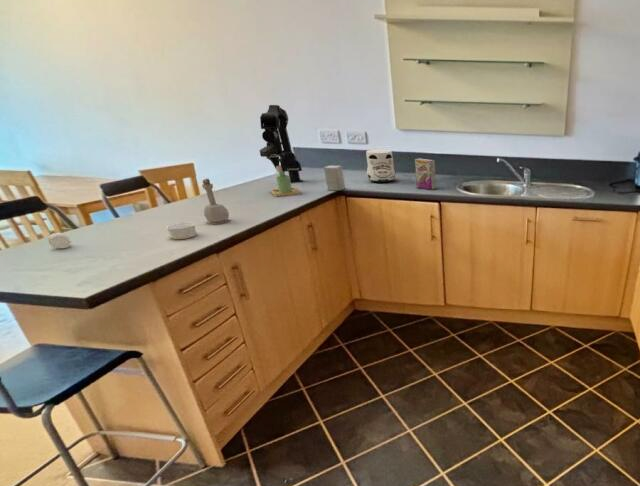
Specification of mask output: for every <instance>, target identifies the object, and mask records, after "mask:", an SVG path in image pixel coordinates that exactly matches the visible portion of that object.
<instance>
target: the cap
mask: <svg viewBox="0 0 640 486" xmlns="http://www.w3.org/2000/svg"><path fill="white" fill-rule="evenodd" d="M276 169H277V170H276ZM275 170H276V172H277V173H279V172H283V171H282V167H281V164H279V166H276V168H275ZM285 172H287V171H286V170H285Z"/></svg>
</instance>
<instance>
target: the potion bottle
mask: <svg viewBox="0 0 640 486" xmlns="http://www.w3.org/2000/svg"><path fill="white" fill-rule="evenodd" d="M201 187H202V189H203V190H204V191H205V193H206V195H207V199H208V202H209V204H207V205H205V206H204V209H203V216H204V217H205V219H206V220H207V222H208V223H209V224H211V225H220V224H225V223H227V222H228V221H229V218H230V217H229V215H230V213H229V211H228V209H227V207H225V206H224V205H223V204H221V203H217V201H216V199H215V198H216V197H215V196H214V192H213V188H214V184H213V183H211V181H210V178H204V179H203V180H202V183H201Z"/></svg>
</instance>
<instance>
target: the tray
mask: <svg viewBox="0 0 640 486" xmlns="http://www.w3.org/2000/svg"><path fill="white" fill-rule="evenodd" d="M270 192H271V193H272V195H274V196H275V197H276V198H278V197H288V196H295V195H302V193H301V191H300V190H299V189H297V188H296V187H294V186H293V187H292V192H290V193H280V192H279V188H276V189H275V188H274V189H270Z"/></svg>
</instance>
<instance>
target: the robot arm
mask: <svg viewBox="0 0 640 486" xmlns="http://www.w3.org/2000/svg"><path fill="white" fill-rule="evenodd" d="M259 118H260V121H259V122H260V129H261V130H264V131H263V132H262V134H261V137H262V139H263V141H264V142H265V143H266V146H264V147H262V148H260V149H259V155H260V157H261V158H266V159H267V160H269V161H270V162H271V164H272V165H273V167H274V169H275V171H277V169H276V166H279V165H281V167H282V171H283V172H285V170H286V172H287V173H288V176H289V177H290V182H291V183H297V182H298V183H299V182H303V180H302V179H301V177H300V172H302V171H303V168H302V164H301V163H300V161H299V160H298V158H297V156H296V155H295V153H294V152H293V150H292V149H293V148H292V145H291V141H290V136H289V134H288V133H289V132H288V129H287V127H288V124H289V114H288V113H287V111H286V110H285V109H283V108H282V107H281V106H280V105H278V104H269V105H268V109H267V111H266V112H262V113H261V114H260V117H259Z"/></svg>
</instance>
